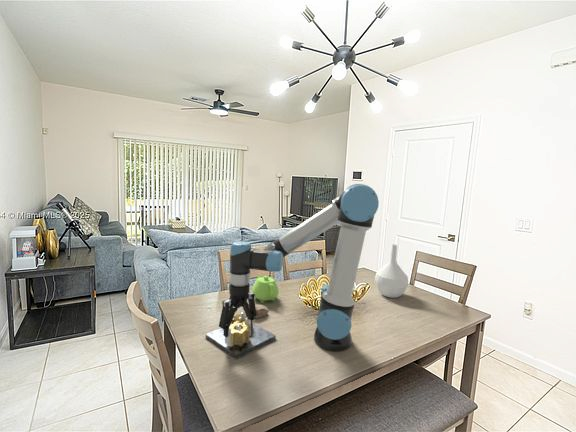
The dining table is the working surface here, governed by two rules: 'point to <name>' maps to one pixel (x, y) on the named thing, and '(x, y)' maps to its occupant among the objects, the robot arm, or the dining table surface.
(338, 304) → the robot arm
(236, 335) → the planet gear
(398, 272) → the vase
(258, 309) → the stone
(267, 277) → the teapot
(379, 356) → the dining table surface
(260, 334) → the plate
